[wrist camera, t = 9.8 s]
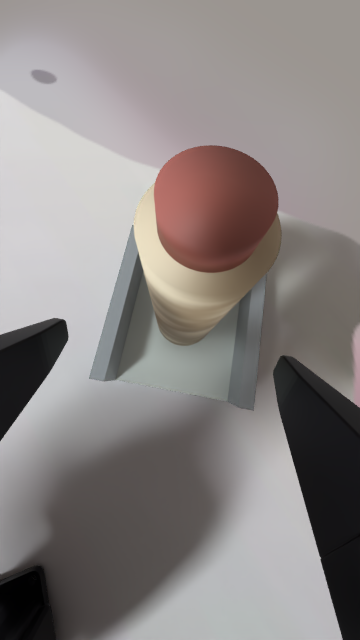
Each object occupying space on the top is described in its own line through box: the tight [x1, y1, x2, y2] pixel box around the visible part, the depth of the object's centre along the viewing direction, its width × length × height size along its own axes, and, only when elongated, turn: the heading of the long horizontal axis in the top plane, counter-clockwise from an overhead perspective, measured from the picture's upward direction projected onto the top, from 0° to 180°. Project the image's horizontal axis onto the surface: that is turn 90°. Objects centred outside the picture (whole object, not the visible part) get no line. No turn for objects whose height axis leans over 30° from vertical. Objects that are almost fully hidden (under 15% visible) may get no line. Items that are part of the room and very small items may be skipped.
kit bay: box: [89, 225, 267, 411], centre depth 17 cm, size 11×12×4 cm
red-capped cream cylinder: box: [134, 146, 281, 346], centre depth 12 cm, size 5×5×13 cm
